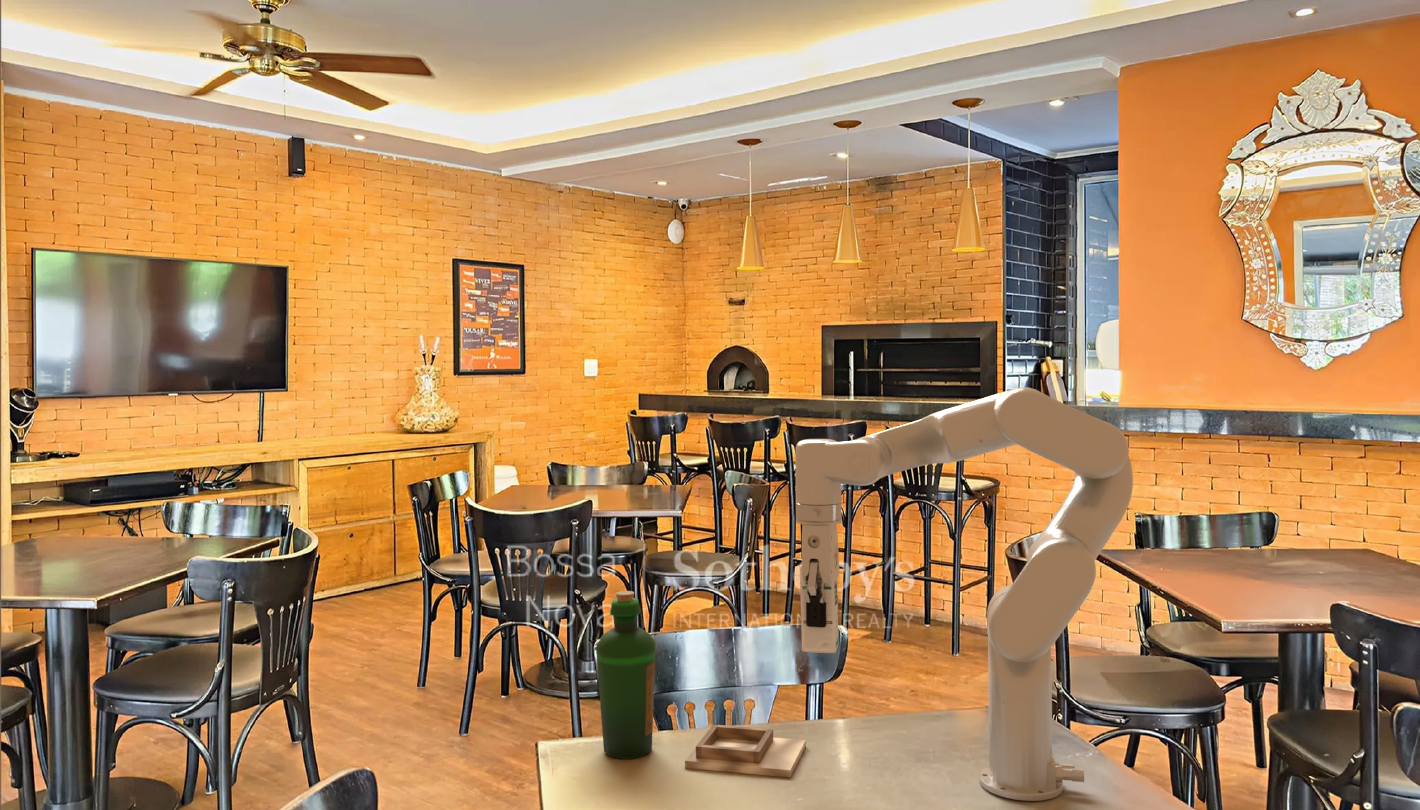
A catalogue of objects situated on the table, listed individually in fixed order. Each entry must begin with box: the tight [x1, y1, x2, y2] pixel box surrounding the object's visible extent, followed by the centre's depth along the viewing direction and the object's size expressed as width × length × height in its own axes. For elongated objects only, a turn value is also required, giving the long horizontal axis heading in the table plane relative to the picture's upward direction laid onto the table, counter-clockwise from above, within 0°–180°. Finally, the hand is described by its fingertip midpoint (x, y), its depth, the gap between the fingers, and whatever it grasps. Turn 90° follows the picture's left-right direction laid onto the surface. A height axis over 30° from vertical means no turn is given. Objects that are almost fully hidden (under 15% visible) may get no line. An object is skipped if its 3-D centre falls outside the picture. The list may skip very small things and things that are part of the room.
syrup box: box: [799, 563, 840, 654], centre depth 165 cm, size 6×6×14 cm
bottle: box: [595, 590, 657, 760], centre depth 174 cm, size 11×11×28 cm
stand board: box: [684, 724, 807, 778], centre depth 171 cm, size 18×14×3 cm
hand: (819, 620), depth 165 cm, fingers closed on syrup box, 5 cm apart
